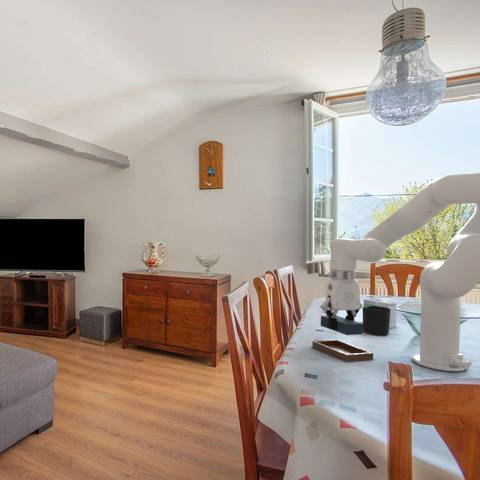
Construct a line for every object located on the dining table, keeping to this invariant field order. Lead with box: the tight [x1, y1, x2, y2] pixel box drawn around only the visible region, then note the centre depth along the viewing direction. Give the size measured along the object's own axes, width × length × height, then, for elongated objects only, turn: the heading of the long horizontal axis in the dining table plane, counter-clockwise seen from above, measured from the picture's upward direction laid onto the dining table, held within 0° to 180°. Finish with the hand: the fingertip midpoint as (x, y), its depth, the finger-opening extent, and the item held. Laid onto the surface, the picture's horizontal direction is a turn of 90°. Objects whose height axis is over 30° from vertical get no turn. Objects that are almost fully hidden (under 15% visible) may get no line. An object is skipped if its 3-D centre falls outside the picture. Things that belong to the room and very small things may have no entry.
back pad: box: [320, 315, 364, 336], centre depth 135 cm, size 12×6×4 cm, turn 13°
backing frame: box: [311, 339, 374, 363], centre depth 135 cm, size 16×10×2 cm, turn 13°
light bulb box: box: [362, 297, 398, 329], centre depth 173 cm, size 11×7×11 cm, turn 25°
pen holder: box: [361, 306, 390, 336], centre depth 160 cm, size 9×9×10 cm
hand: (341, 328), depth 135 cm, fingers closed on back pad, 6 cm apart
